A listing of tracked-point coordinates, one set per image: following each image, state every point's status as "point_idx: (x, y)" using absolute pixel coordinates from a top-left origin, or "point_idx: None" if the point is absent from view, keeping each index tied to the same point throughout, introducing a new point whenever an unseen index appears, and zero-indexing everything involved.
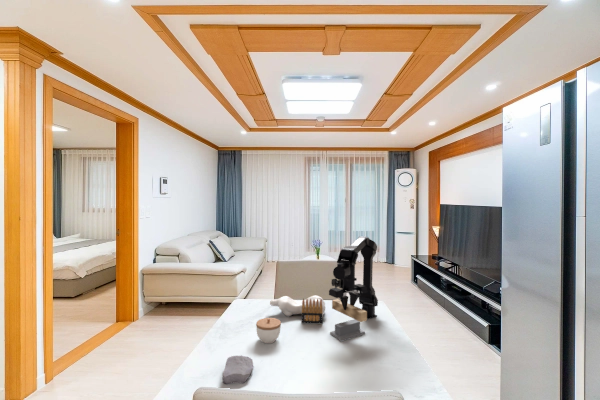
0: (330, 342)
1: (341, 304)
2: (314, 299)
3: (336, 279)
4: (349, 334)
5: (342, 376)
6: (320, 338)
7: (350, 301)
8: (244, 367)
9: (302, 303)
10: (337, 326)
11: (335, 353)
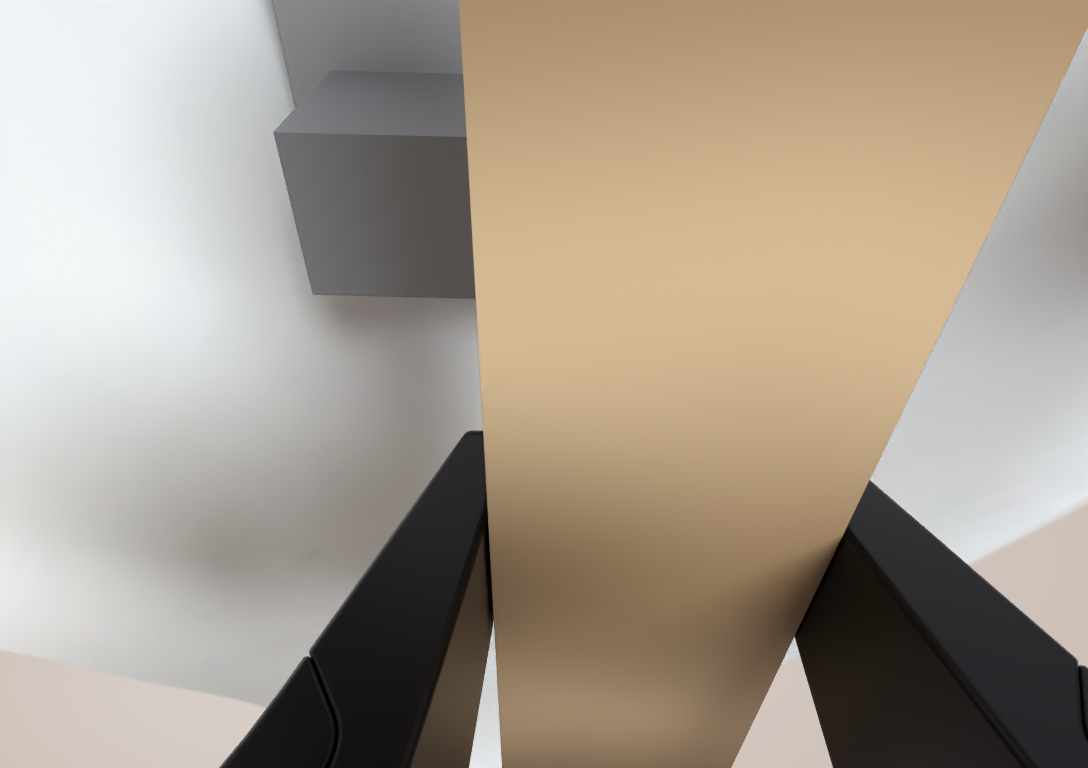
0: (165, 217)
1: (480, 370)
2: None
3: None
4: None
5: (89, 619)
6: (18, 6)
7: (908, 666)
8: None
9: None
10: (300, 216)
11: (139, 427)
